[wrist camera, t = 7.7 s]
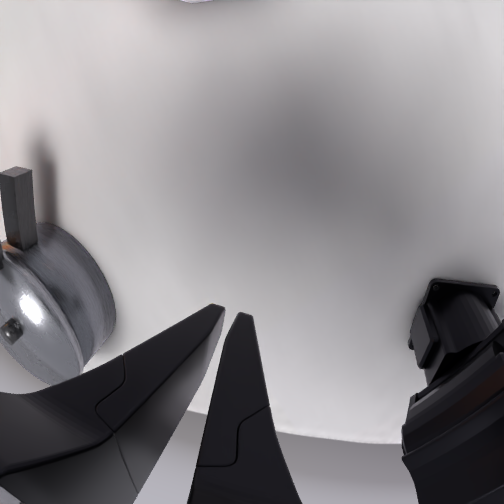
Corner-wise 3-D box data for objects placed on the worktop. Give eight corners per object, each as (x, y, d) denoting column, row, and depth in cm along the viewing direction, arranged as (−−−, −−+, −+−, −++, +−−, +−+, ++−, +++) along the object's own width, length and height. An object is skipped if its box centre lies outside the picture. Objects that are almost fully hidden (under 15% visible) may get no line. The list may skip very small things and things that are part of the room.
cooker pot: (112, 171, 22) (59, 195, 17) (123, 376, 34) (99, 411, 29) (6, 151, 24) (-39, 167, 19) (36, 329, 36) (10, 356, 31)
